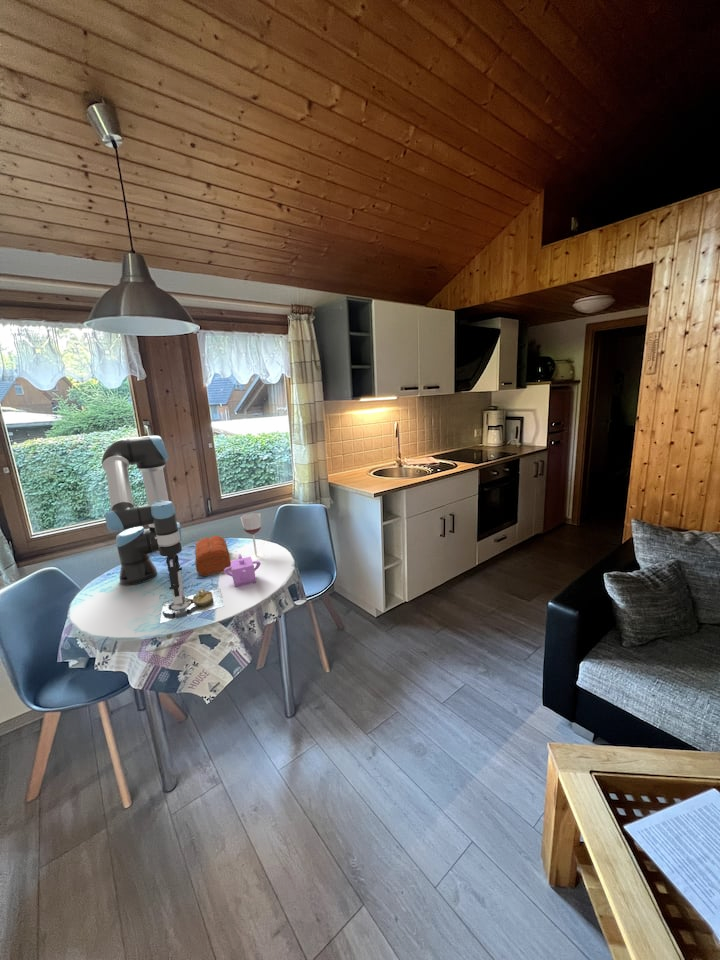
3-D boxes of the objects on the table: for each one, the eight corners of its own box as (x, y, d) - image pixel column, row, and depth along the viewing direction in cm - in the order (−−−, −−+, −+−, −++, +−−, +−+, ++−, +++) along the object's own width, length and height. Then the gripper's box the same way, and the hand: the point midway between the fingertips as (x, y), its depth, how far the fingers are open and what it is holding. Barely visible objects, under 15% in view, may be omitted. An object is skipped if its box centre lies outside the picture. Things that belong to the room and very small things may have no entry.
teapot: (220, 586, 166) (216, 563, 164) (242, 573, 178) (239, 551, 175) (247, 593, 159) (243, 568, 157) (268, 578, 171) (265, 555, 168)
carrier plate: (163, 605, 154) (162, 599, 153) (221, 591, 162) (220, 585, 161) (160, 626, 139) (159, 620, 139) (224, 609, 148) (223, 603, 147)
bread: (197, 578, 176) (193, 556, 174) (196, 557, 200) (192, 537, 198) (232, 570, 182) (229, 549, 180) (227, 550, 206) (224, 531, 204)
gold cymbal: (193, 599, 154) (192, 589, 153) (212, 595, 156) (210, 585, 155) (194, 608, 147) (192, 597, 146) (213, 603, 150) (211, 592, 149)
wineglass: (263, 560, 190) (257, 518, 185) (244, 561, 190) (238, 519, 185) (267, 553, 198) (262, 512, 194) (249, 554, 199) (243, 513, 194)
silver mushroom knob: (171, 605, 151) (168, 585, 149) (191, 600, 153) (187, 580, 151) (171, 614, 144) (167, 593, 142) (191, 608, 147) (187, 588, 145)
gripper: (160, 534, 153) (169, 583, 157) (155, 557, 130) (166, 613, 135) (180, 530, 155) (189, 579, 160) (179, 552, 133) (189, 607, 138)
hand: (179, 595), depth 148 cm, fingers open, 13 cm apart
